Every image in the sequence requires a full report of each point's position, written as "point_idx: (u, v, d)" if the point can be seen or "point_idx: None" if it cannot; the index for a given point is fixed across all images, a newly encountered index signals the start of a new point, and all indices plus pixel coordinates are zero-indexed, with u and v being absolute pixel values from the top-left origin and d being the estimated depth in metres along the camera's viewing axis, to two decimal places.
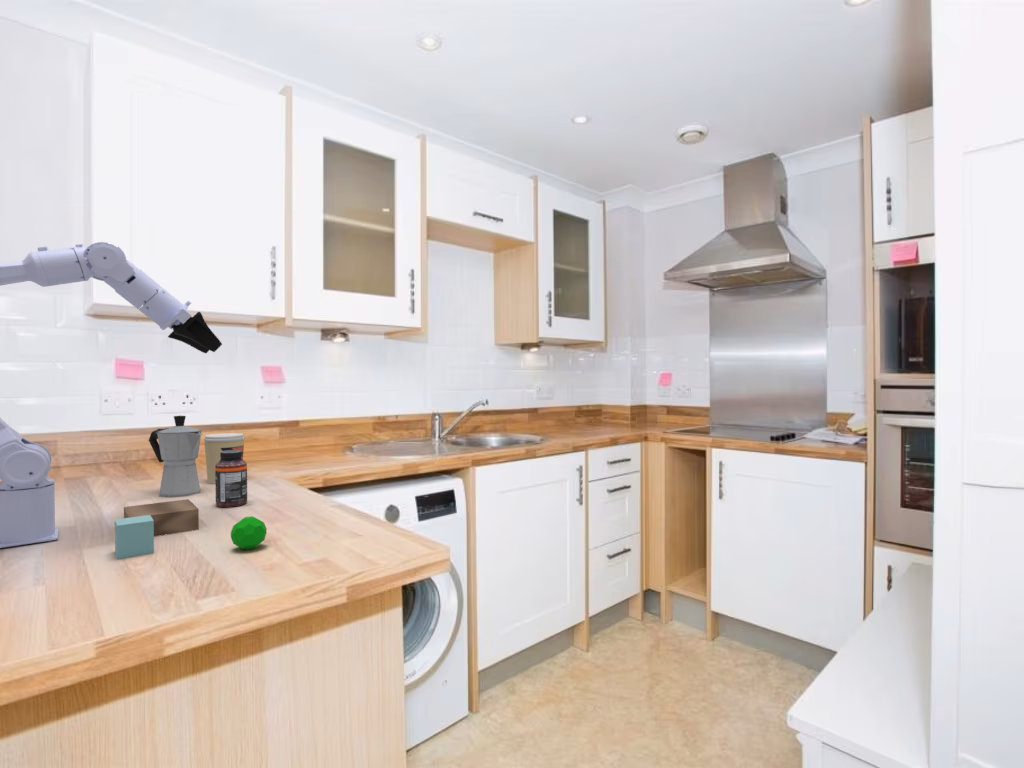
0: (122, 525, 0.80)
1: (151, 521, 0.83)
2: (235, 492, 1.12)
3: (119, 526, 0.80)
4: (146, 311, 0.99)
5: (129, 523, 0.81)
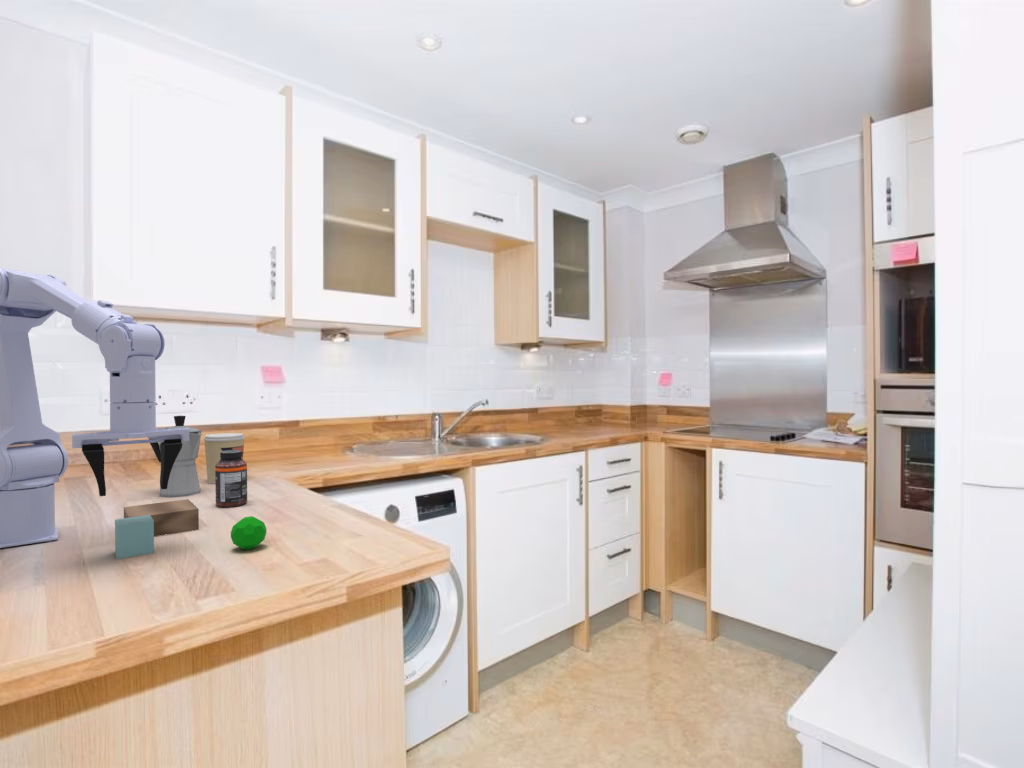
0: (122, 525, 0.80)
1: (151, 521, 0.83)
2: (235, 492, 1.12)
3: (119, 526, 0.80)
4: None
5: (129, 523, 0.81)
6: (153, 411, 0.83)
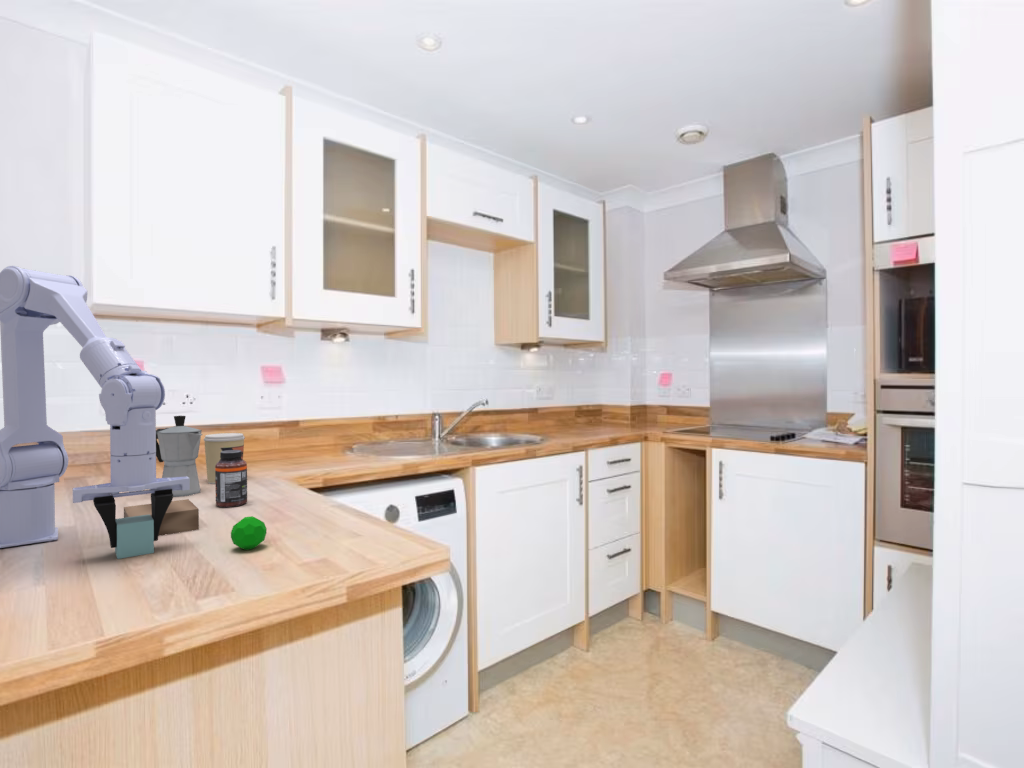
0: (122, 524, 0.80)
1: (151, 520, 0.83)
2: (235, 492, 1.12)
3: (119, 525, 0.80)
4: None
5: (129, 523, 0.81)
6: (153, 462, 0.83)
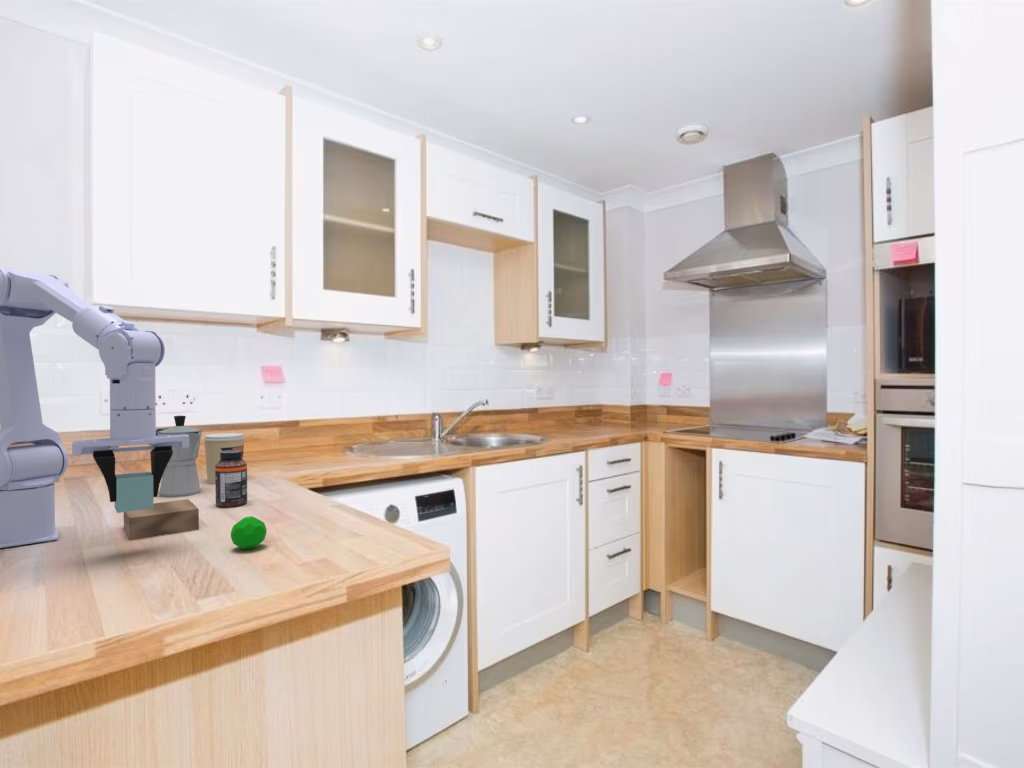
0: (122, 479, 0.80)
1: (151, 476, 0.83)
2: (235, 492, 1.12)
3: (119, 479, 0.80)
4: None
5: (129, 477, 0.81)
6: (153, 418, 0.83)
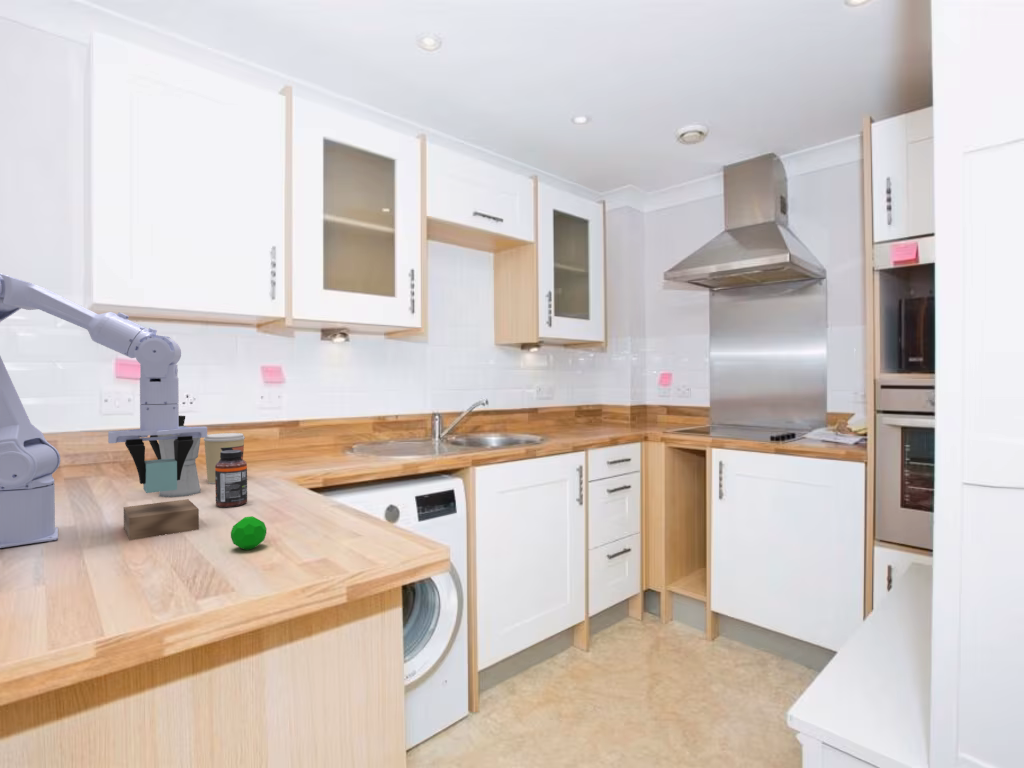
0: (150, 463, 0.93)
1: (175, 461, 0.95)
2: (235, 492, 1.12)
3: (148, 464, 0.93)
4: None
5: (156, 462, 0.94)
6: (176, 411, 0.96)
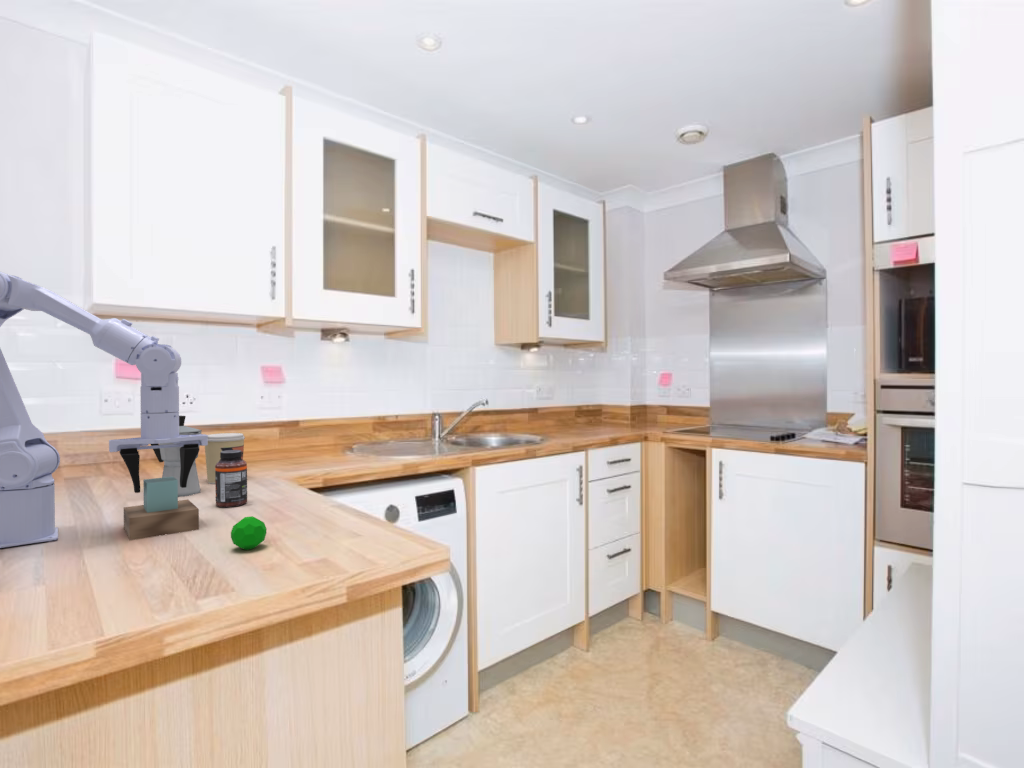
0: (151, 483, 0.93)
1: (175, 480, 0.96)
2: (235, 492, 1.12)
3: (149, 484, 0.93)
4: None
5: (157, 482, 0.94)
6: (177, 420, 0.97)
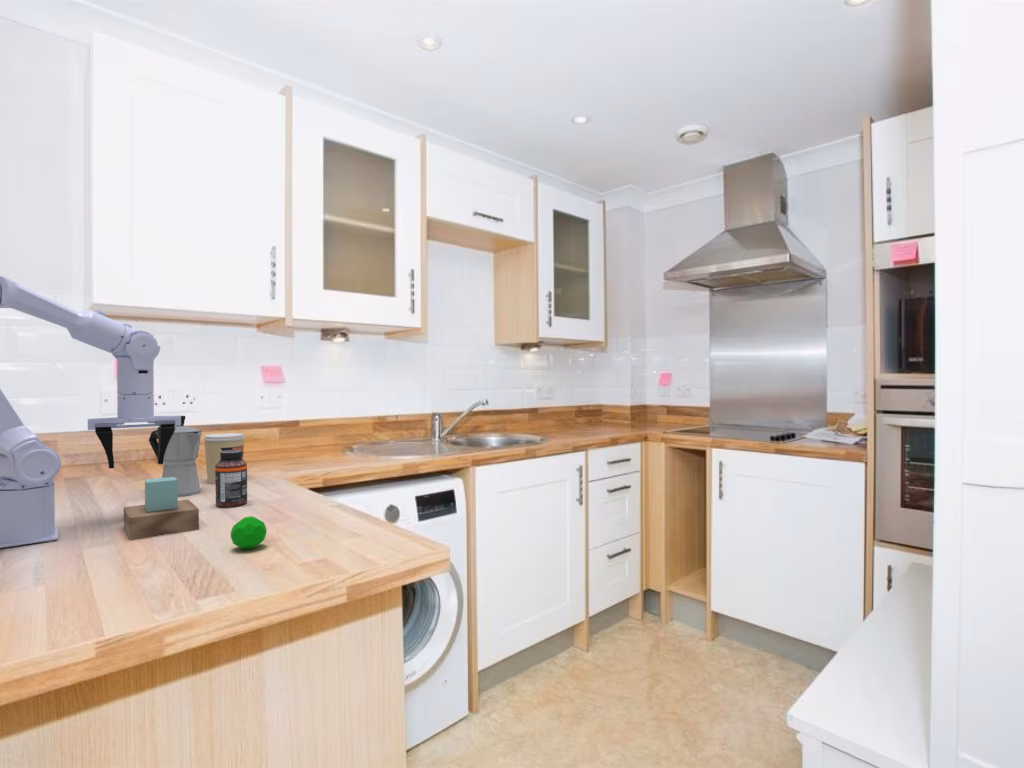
0: (151, 482, 0.93)
1: (175, 480, 0.96)
2: (235, 492, 1.12)
3: (148, 483, 0.93)
4: None
5: (157, 481, 0.94)
6: (151, 401, 1.04)
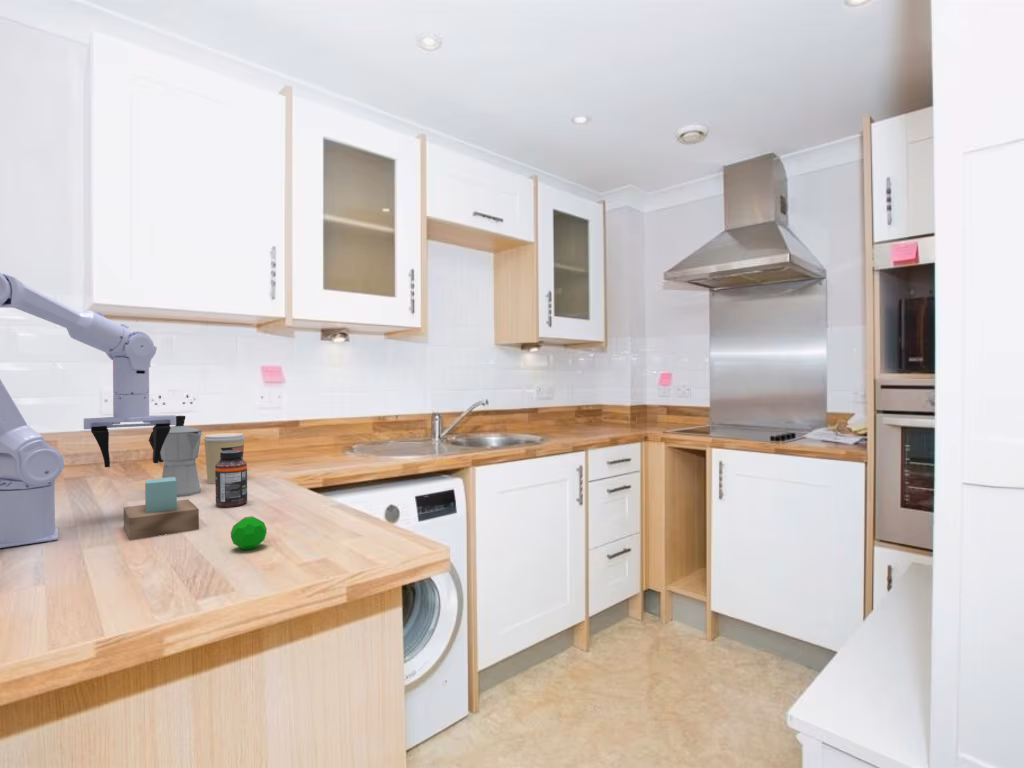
0: (150, 483, 0.93)
1: (174, 481, 0.95)
2: (235, 492, 1.12)
3: (147, 484, 0.93)
4: None
5: (156, 482, 0.94)
6: (147, 401, 1.05)
